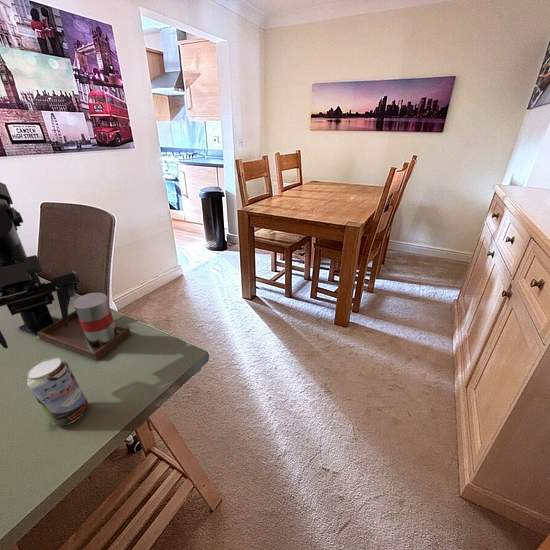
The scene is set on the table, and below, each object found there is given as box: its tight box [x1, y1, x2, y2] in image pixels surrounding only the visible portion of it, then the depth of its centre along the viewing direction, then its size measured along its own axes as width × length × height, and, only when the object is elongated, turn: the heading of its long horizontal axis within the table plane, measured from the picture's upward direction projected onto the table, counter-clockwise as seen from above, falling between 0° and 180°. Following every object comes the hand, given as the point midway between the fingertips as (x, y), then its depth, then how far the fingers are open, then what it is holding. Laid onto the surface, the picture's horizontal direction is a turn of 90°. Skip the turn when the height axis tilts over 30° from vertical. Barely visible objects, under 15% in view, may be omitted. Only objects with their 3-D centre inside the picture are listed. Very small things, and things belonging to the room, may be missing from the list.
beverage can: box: [26, 357, 89, 427], centre depth 54 cm, size 6×7×12 cm
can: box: [73, 292, 117, 350], centre depth 71 cm, size 7×7×12 cm
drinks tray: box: [36, 310, 132, 362], centre depth 76 cm, size 19×10×2 cm, turn 68°
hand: (38, 337), depth 55 cm, fingers open, 9 cm apart
